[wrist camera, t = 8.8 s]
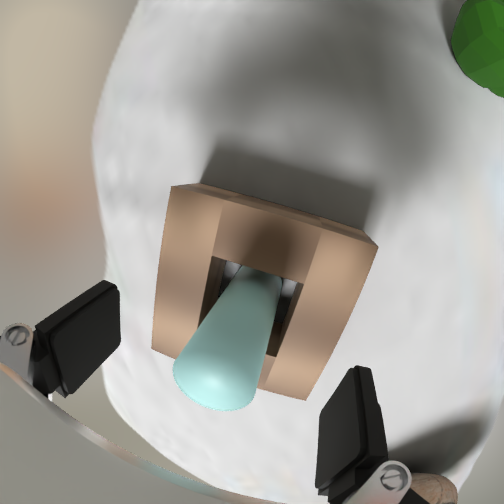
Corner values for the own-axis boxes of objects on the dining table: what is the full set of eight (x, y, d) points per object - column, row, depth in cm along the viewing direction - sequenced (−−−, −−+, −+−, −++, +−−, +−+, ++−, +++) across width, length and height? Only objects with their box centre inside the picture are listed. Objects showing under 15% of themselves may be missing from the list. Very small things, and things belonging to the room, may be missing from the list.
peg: (241, 254, 18) (176, 336, 9) (287, 268, 18) (266, 367, 8) (230, 296, 19) (170, 393, 10) (274, 309, 19) (244, 419, 9)
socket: (199, 183, 17) (171, 186, 14) (362, 230, 16) (378, 246, 13) (174, 321, 21) (151, 348, 17) (307, 364, 20) (305, 400, 16)
